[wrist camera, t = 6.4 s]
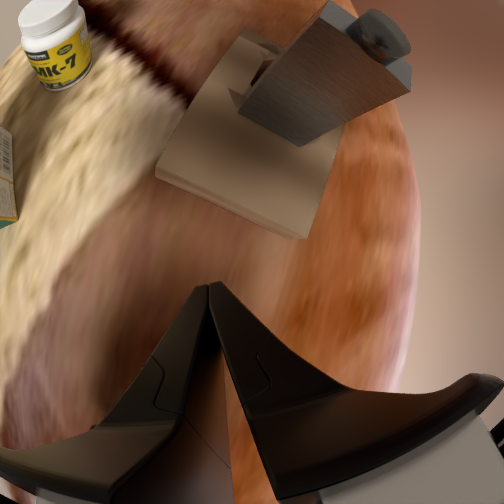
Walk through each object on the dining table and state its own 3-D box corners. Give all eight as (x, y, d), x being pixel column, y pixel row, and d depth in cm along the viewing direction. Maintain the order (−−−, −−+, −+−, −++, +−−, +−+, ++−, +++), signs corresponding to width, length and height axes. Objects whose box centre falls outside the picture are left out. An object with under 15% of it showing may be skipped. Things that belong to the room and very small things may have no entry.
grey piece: (298, 149, 18) (430, 85, 8) (236, 114, 16) (335, 2, 6) (308, 124, 18) (429, 56, 8) (249, 89, 17) (345, -17, 6)
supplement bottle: (38, 99, 14) (2, 41, 6) (46, 57, 13) (23, -3, 6) (91, 84, 16) (73, 15, 8) (95, 44, 15) (87, -24, 7)
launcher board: (286, 238, 22) (306, 238, 19) (154, 176, 18) (155, 165, 15) (333, 106, 23) (353, 95, 20) (233, 47, 19) (245, 27, 17)
